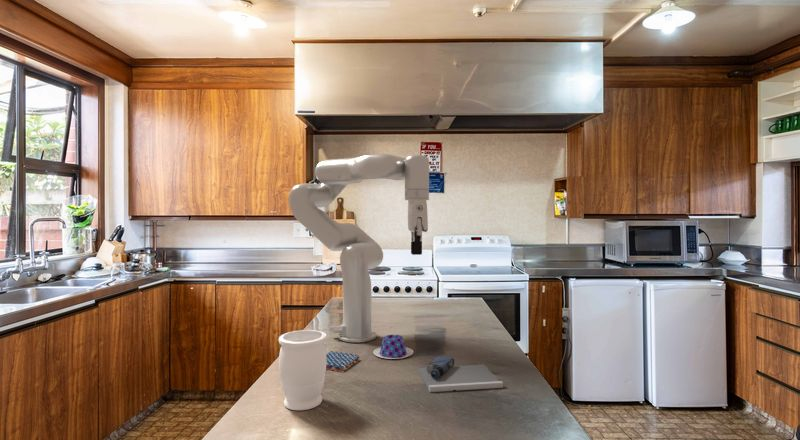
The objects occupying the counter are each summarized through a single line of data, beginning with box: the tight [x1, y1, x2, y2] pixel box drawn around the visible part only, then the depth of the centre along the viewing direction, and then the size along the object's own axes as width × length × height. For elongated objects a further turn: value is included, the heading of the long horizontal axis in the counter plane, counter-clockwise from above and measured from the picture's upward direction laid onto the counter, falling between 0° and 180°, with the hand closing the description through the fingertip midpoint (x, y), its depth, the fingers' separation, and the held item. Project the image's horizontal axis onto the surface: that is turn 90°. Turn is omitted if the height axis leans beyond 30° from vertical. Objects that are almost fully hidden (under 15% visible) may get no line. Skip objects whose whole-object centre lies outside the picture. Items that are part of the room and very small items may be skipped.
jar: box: [278, 329, 327, 411], centre depth 97 cm, size 11×10×15 cm
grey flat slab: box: [418, 364, 504, 393], centre depth 111 cm, size 18×14×1 cm
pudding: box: [372, 334, 414, 360], centre depth 131 cm, size 12×12×5 cm
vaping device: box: [426, 355, 455, 379], centre depth 114 cm, size 3×5×12 cm
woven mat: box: [326, 350, 361, 373], centre depth 122 cm, size 10×11×2 cm
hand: (416, 254), depth 136 cm, fingers closed
